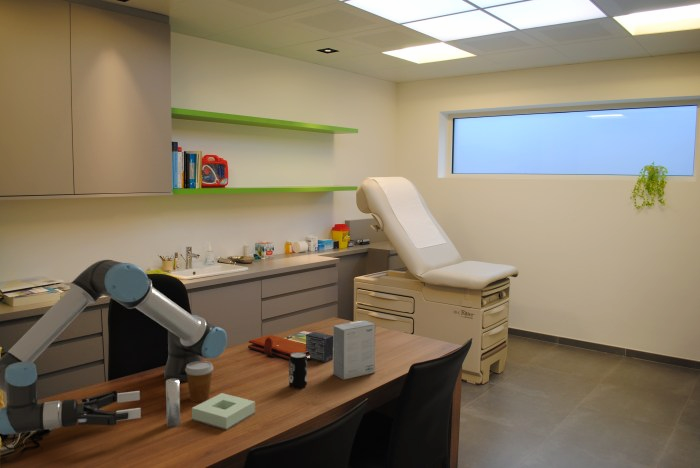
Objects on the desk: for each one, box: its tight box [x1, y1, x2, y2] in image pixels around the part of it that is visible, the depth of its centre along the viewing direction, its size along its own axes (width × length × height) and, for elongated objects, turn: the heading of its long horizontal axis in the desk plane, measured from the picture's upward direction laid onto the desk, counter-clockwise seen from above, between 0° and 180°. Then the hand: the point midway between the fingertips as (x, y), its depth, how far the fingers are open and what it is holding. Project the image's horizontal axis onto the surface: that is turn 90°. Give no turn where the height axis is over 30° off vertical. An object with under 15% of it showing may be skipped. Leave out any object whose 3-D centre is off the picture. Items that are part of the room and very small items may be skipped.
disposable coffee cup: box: [185, 360, 214, 403], centre depth 191 cm, size 10×10×12 cm
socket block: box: [191, 392, 256, 431], centre depth 177 cm, size 14×14×4 cm
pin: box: [165, 378, 181, 428], centre depth 171 cm, size 4×4×14 cm
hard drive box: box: [332, 319, 376, 381], centre depth 217 cm, size 16×8×20 cm, turn 123°
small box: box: [305, 331, 333, 363], centre depth 235 cm, size 11×6×10 cm, turn 58°
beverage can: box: [288, 351, 308, 390], centre depth 204 cm, size 7×7×12 cm
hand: (140, 403), depth 167 cm, fingers open, 13 cm apart
